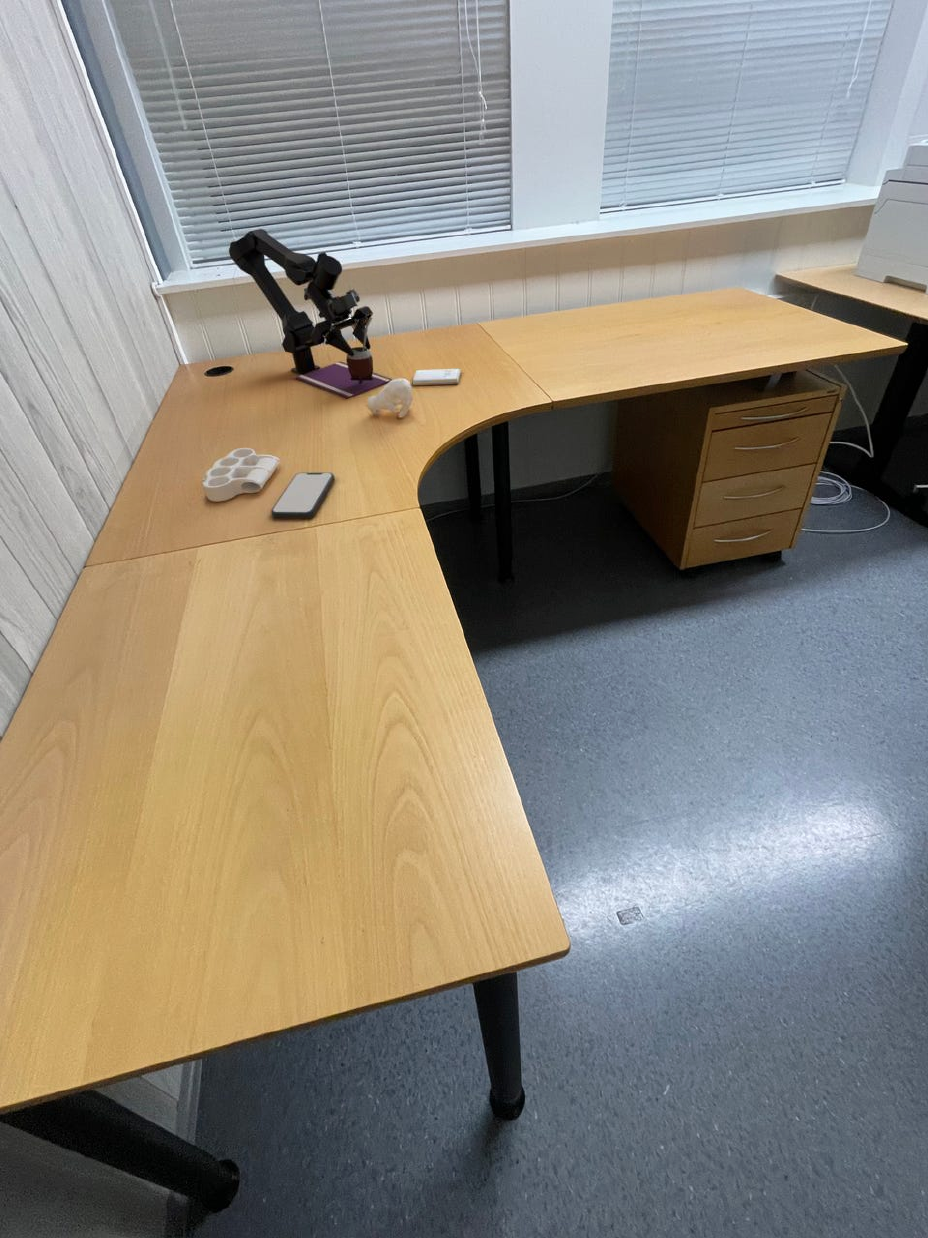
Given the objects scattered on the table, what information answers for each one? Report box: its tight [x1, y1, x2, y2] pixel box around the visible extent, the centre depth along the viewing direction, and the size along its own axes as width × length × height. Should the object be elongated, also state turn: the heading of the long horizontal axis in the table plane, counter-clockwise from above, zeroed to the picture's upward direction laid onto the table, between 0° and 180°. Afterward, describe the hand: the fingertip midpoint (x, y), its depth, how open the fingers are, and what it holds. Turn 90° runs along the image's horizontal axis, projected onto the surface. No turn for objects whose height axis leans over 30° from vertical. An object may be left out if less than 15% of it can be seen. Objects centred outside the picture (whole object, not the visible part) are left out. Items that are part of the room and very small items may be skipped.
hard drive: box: [412, 368, 461, 386], centre depth 168 cm, size 2×8×12 cm
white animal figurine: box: [366, 378, 413, 419], centre depth 150 cm, size 6×8×12 cm
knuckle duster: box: [201, 447, 281, 503], centre depth 130 cm, size 3×18×15 cm
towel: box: [295, 361, 394, 400], centre depth 174 cm, size 26×16×1 cm, turn 44°
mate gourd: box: [346, 317, 374, 384], centre depth 164 cm, size 8×8×15 cm
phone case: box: [270, 472, 335, 520], centre depth 123 cm, size 9×2×16 cm
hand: (361, 351), depth 162 cm, fingers closed on mate gourd, 6 cm apart
